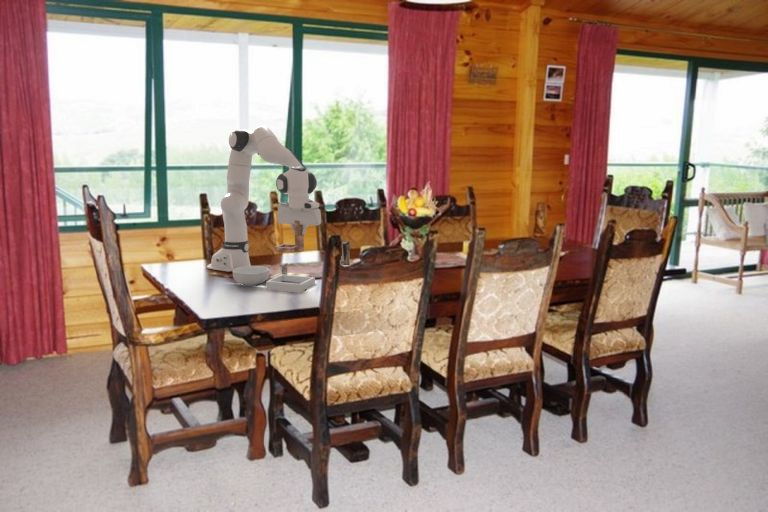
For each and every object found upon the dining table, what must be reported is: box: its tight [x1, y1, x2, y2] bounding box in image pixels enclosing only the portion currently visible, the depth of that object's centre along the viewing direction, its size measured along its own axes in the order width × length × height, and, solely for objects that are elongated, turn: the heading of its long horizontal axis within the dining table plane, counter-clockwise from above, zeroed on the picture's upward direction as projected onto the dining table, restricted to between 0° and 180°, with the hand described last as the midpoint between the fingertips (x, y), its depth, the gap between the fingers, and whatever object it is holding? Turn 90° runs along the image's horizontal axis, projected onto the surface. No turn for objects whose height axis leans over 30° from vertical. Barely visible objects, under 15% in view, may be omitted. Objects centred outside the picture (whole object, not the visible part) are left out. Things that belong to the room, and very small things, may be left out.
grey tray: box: [265, 274, 316, 294], centre depth 318 cm, size 17×15×4 cm
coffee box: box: [341, 240, 351, 265], centre depth 344 cm, size 9×6×16 cm
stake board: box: [268, 262, 311, 279], centre depth 336 cm, size 16×13×7 cm
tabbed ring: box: [273, 221, 305, 254], centre depth 314 cm, size 12×9×14 cm
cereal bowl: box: [232, 265, 270, 287], centre depth 323 cm, size 17×17×7 cm
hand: (299, 234), depth 312 cm, fingers closed on tabbed ring, 2 cm apart
